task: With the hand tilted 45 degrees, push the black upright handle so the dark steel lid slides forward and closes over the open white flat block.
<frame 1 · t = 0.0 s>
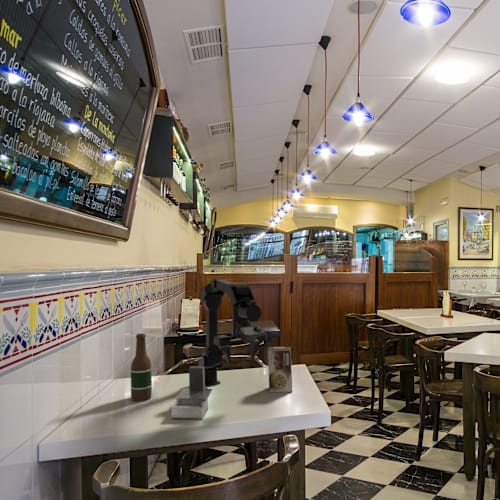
hand: (241, 362, 132), 15 cm above the table, tool pointing down, fingers open, 9 cm apart
white flat block: (190, 414, 124), on the table
lid: (194, 382, 130), point 9 cm above the table, slide at 6.0 cm
beer bottle: (141, 398, 140), on the table
grey printed box: (280, 390, 146), on the table
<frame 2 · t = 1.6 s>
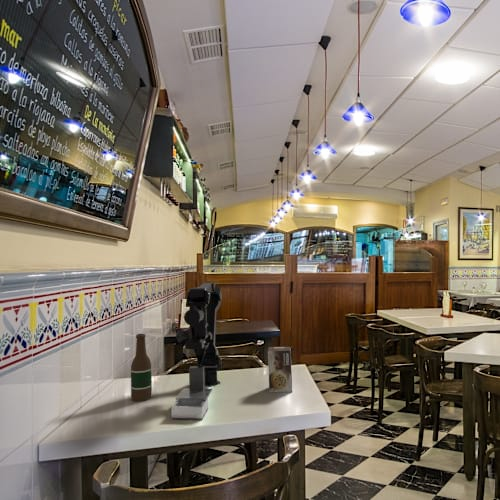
hand: (199, 363, 139), 13 cm above the table, tool pointing down, fingers closed
nothing on the table moved.
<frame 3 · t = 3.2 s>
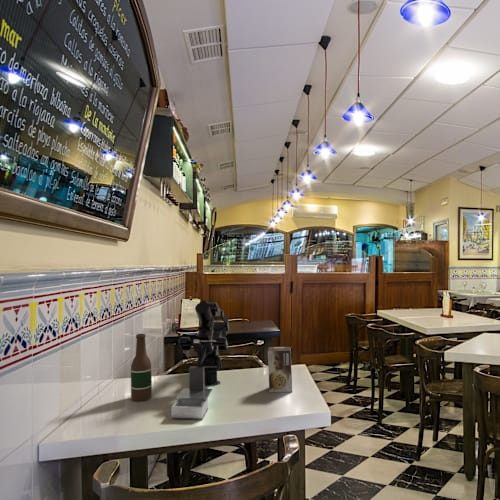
hand: (200, 363, 140), 13 cm above the table, tool tilted 45°, fingers closed
nothing on the table moved.
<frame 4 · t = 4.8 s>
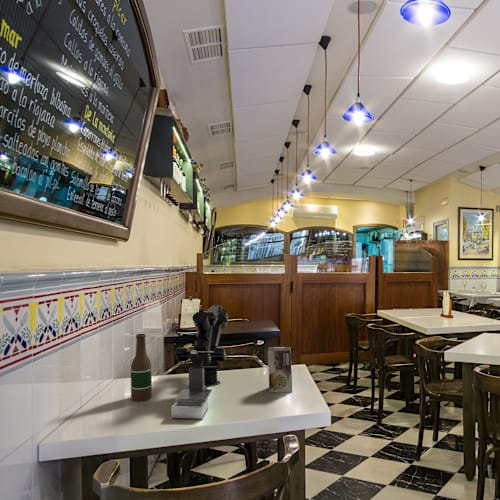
hand: (197, 375, 135), 10 cm above the table, tool tilted 45°, fingers closed, pressing on lid
lid: (194, 382, 130), point 9 cm above the table, slide at 5.4 cm, touching gripper
everything else where it was.
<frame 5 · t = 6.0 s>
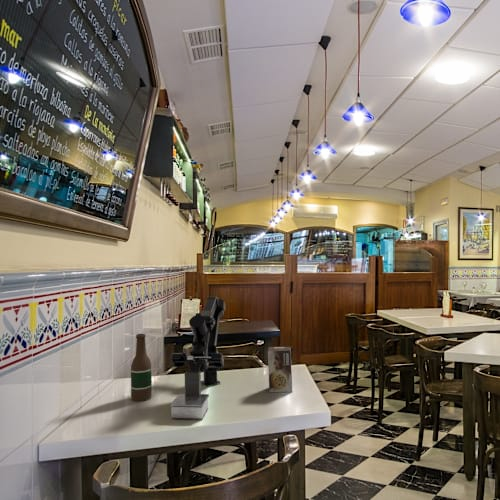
hand: (193, 381, 130), 9 cm above the table, tool tilted 45°, fingers closed
lid: (190, 387, 125), point 9 cm above the table, slide at 0.2 cm
everything else where it was.
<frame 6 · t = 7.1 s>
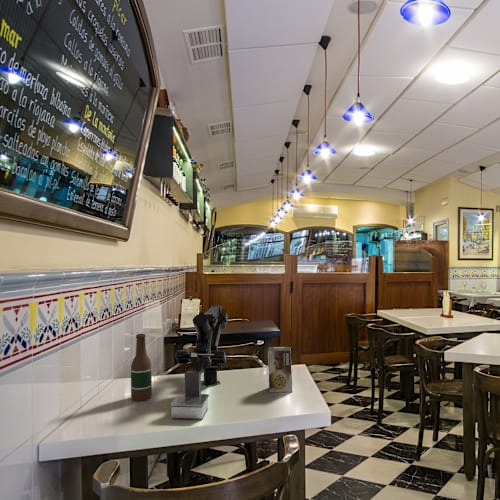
hand: (197, 378, 135), 9 cm above the table, tool tilted 45°, fingers closed
nothing on the table moved.
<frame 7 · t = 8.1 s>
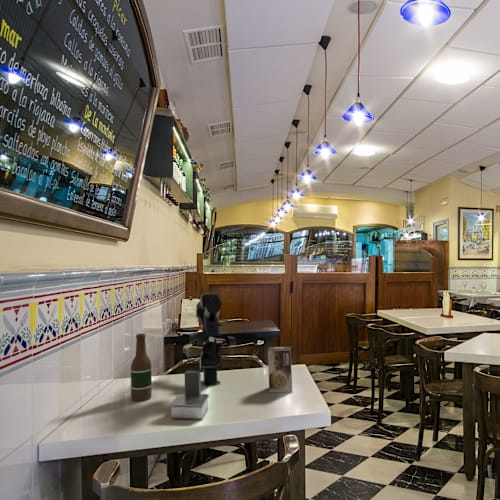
hand: (214, 362, 140), 13 cm above the table, tool tilted 30°, fingers closed
nothing on the table moved.
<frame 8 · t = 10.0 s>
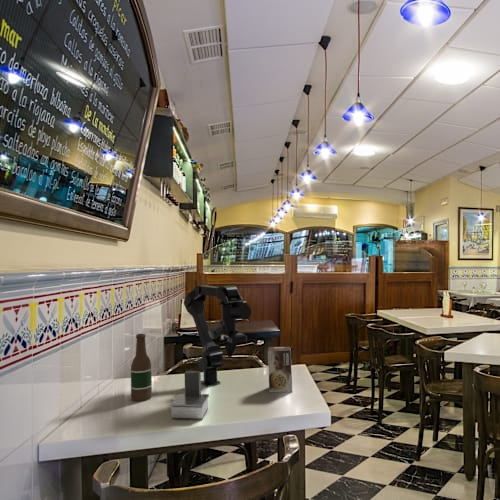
hand: (229, 357, 147), 13 cm above the table, tool pointing down, fingers closed
nothing on the table moved.
at the end: lid slide at 0.2 cm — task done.
